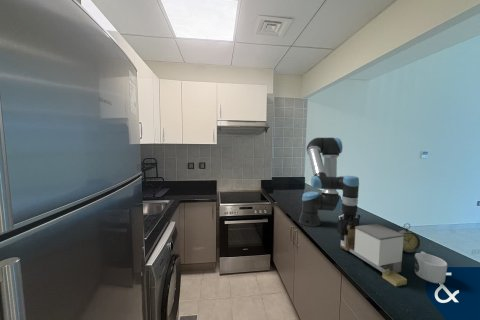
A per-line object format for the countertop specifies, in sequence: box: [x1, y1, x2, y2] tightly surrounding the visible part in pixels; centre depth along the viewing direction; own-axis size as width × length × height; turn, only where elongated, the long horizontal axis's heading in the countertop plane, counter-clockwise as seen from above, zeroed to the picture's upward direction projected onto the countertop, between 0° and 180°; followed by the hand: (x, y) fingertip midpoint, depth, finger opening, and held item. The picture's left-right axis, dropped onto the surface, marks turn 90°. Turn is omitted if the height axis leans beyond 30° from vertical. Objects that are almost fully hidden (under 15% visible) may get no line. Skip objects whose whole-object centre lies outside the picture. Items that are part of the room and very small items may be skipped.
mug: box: [414, 251, 448, 284], centre depth 90 cm, size 13×10×8 cm
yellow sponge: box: [381, 271, 408, 287], centre depth 86 cm, size 6×6×2 cm
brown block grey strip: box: [339, 224, 390, 273], centre depth 100 cm, size 25×5×12 cm, turn 16°
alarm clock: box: [398, 222, 421, 254], centre depth 109 cm, size 11×5×16 cm, turn 83°
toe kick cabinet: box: [354, 223, 404, 273], centre depth 96 cm, size 13×14×18 cm
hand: (347, 245), depth 110 cm, fingers closed on brown block grey strip, 5 cm apart
